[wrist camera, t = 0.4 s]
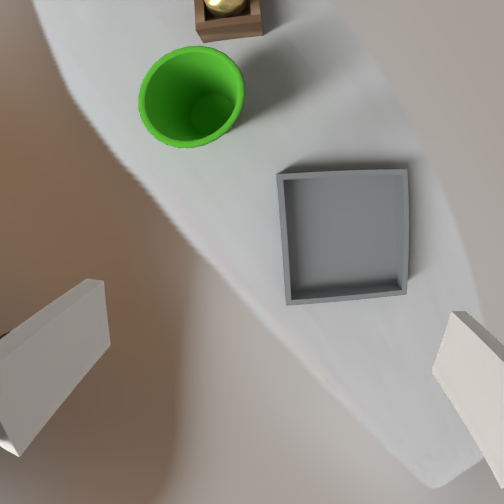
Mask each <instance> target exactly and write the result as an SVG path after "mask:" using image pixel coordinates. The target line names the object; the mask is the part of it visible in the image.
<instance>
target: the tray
mask: <svg viewBox="0 0 504 504" xmlns="http://www.w3.org/2000/svg"><path fill="white" fill-rule="evenodd" d="M276 175H277V187H278V199H279V211H280V224H281V238H282V252H283V267H284V282H285V298H286V305H300V304H313V303H325V302H337V301H348V300H359V299H369V298H378V297H388V296H397V295H405V294H407V279H408V256H409V194H408V172H407V169H373V170H341V171H320V172H302V173H287V174H276Z"/></svg>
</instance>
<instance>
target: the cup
mask: <svg viewBox="0 0 504 504" xmlns="http://www.w3.org/2000/svg"><path fill="white" fill-rule="evenodd" d="M244 98H245V84H244V80H243V77H242V74H241V71H240V70H239V68H238V67H237V65H236V64H235V62H234V61H233V60H232V59H231V58H229V57H228V56H227V55H226V54H224V53H223V52H220V51H218V50H216V49H214V48H210V47H204V46H188V47H184V48H181V49H177V50H174V51H172V52H171V53H169V54H167V55H165V56H163V57H162V58H161V59H160V60H158V61H157V62H156V63H155V64H154V65H153V66H152V68H151V69H150V70H149V71H148V73H147V74H146V76H145V78H144V80H143V82H142V84H141V88H140V93H139V112H140V116H141V119H142V122H143V123H144V125H145V127H146V128H147V130H148V131H149V132H150V133H151V134H152V135H153V136H154V137H155V138H156V139H157V140H159V141H161V142H163V143H165V144H166V145H170V146H174V147H178V148H194V147H198V146H203V145H206V144H208V143H210V142H212V141H214V140H217V139H218V138H219V137H221V136H222V135H224V134H225V133H227V132H228V131H229V130H230V129H231V128H232V126H233V124H234V123H235V122H236V120H237V119H238V116H239V114H240V112H241V110H242V108H243V103H244Z"/></svg>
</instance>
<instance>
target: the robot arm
mask: <svg viewBox="0 0 504 504" xmlns="http://www.w3.org/2000/svg"><path fill="white" fill-rule="evenodd" d="M110 345H111V344H110V337H109V328H108V320H107V311H106V302H105V290H104V281H100V280H93V279H86V280H84V281H83V282H81V283H80V284H78V285H77V286H75V287H74V288H72V289H71V290H69V291H68V292H67V293H65V294H63V295H62V296H60V297H59V298H57V299H56V300H55V301H53V302H52V303H50V304H49V305H47V306H46V307H44V308H43V309H42V310H40V311H39V312H37V313H36V314H34V315H33V316H32V317H30V318H29V319H28V320H26V321H25V322H23V323H22V324H21V325H19V326H18V327H16V328H15V329H14V330H12V331H10V332H8V333H5V334H3V335H2V336H0V446H1V447H2V448H4V449H6V450H7V451H9V452H11V453H13V454H15V455H16V456H18V457H20V456H21V455H22V453H23V452H24V451H25V449H26V448H27V447H28V445H29V444H30V443H31V442H32V440H33V439H34V438H35V436H36V435H37V434H38V433H39V431H40V430H41V429H42V427H43V426H44V425H45V424H46V422H47V421H48V420H49V419H50V417H51V416H52V415H53V414H54V412H55V411H56V410H57V409H58V407H59V406H60V405H61V404H62V402H63V401H64V400H65V399H66V398H67V396H68V395H69V394H70V393H71V392H72V390H73V389H74V388H75V387H76V385H77V384H78V383H79V382H80V381H81V379H82V378H83V377H84V376H85V374H86V373H87V372H88V371H89V370H90V369H91V367H92V366H93V365H94V364H95V362H97V360H98V359H99V358H100V357H101V356H102V354H103V353H104V352H105V351H106V350H107V348H108V347H109V346H110ZM431 372H432V373H433V375H434V376H435V378H436V379H437V381H438V382H439V384H440V385H441V387H442V388H443V390H444V392H445V393H446V395H447V396H448V398H449V399H450V401H451V402H452V404H453V406H454V407H455V409H456V410H457V412H458V414H459V415H460V417H461V418H462V420H463V422H464V423H465V425H466V427H467V428H468V430H469V432H470V433H471V435H472V437H473V438H474V440H475V442H476V444H477V445H478V447H479V449H480V450H481V452H482V454H483V456H484V457H485V459H486V461H487V463H488V464H489V466H490V468H491V470H492V472H493V473H494V475H495V477H496V479H497V481H498V483H499V484H500V487H501V489H502V488H504V346H503V345H502V344H501V343H500V342H499V341H498V340H497V339H496V338H495V337H494V336H493V335H492V334H490V333H489V332H488V331H487V330H486V329H485V328H484V327H483V326H482V325H481V324H480V323H478V322H477V321H476V320H475V319H474V318H473V317H472V316H470V315H469V314H468V313H467V312H464V311H451V314H450V317H449V321H448V324H447V327H446V330H445V333H444V336H443V340H442V343H441V345H440V348H439V351H438V354H437V357H436V360H435V362H434V365H433V368H432V370H431Z"/></svg>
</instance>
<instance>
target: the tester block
mask: <svg viewBox="0 0 504 504" xmlns="http://www.w3.org/2000/svg"><path fill="white" fill-rule="evenodd" d="M194 4H195V24H196V31H197V33H198V35H199V36H200V38H201V40H202V41H203V43H207V42H213V41H220V40H227V39H235V38H244V37H254V36H263V29H262V20H261V12H260V4H259V0H247V4H246V7H245V8H244V10H243V11H242V12H241V13H239V14H238V15H236V16H233V17H229V18H221V17H217V16H214V15H213V14H211V13H210V12H209V10H208V8H207V6H206V4H205V1H204V0H194Z"/></svg>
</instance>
